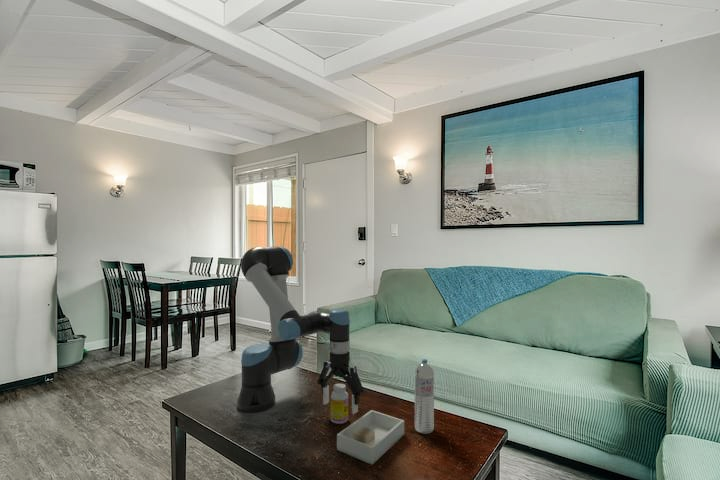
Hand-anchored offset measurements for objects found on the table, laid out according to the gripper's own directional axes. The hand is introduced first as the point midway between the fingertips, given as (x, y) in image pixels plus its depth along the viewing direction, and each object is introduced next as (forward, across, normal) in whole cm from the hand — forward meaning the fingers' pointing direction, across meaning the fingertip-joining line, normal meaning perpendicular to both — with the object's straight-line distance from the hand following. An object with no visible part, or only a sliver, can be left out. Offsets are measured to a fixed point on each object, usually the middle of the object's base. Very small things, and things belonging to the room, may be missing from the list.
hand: (340, 408), depth 138 cm
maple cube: (+4, +18, -11) cm, 21 cm away
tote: (+5, +18, -5) cm, 19 cm away
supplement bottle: (+5, 0, 0) cm, 5 cm away
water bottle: (+5, +29, +12) cm, 31 cm away
